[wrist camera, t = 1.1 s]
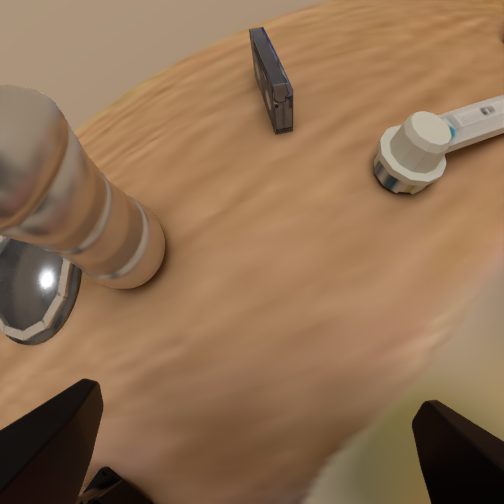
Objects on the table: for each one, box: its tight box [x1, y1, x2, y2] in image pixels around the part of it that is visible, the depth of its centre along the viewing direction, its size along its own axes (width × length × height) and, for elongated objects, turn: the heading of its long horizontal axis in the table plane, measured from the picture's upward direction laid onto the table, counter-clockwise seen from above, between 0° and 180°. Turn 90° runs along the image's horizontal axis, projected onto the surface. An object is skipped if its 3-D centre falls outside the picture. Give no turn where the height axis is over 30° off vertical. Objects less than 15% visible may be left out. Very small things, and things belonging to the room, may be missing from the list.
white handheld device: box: [374, 95, 504, 195], centre depth 22 cm, size 5×7×25 cm
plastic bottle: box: [0, 85, 165, 289], centre depth 14 cm, size 6×7×20 cm
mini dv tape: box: [249, 27, 293, 134], centre depth 24 cm, size 8×2×6 cm, turn 12°
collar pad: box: [0, 236, 82, 345], centre depth 24 cm, size 13×13×1 cm
